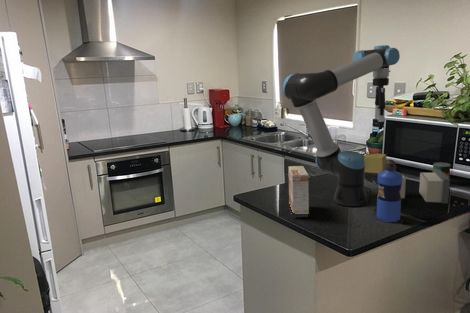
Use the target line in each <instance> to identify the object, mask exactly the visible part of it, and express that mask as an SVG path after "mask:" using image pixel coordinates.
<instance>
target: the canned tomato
mask: <svg viewBox="0 0 470 313" xmlns="http://www.w3.org/2000/svg"><path fill="white" fill-rule="evenodd" d="M434 170H440V171H441V172H443V173H444V174H445V175H446V176H447V177H448V178H449V179H450V177H451V164H450V163H448V162H440V161H439V162H434V163H433V164H432V173H434Z"/></svg>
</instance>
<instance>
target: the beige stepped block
mask: <svg viewBox="0 0 470 313" xmlns="http://www.w3.org/2000/svg"><path fill="white" fill-rule="evenodd" d="M419 173H420V174H419V190H418V192H419V194H420V195H421V196H422V198H423V200H424V201H425V202H426V203H441V204H449V198H450V185H451V183H450V182H451V179H450V178H448V177H447V176H446V175H445V174H444V173H443V172H441V171H440V170H434V173H433V172H419Z"/></svg>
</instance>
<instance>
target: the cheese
mask: <svg viewBox="0 0 470 313" xmlns="http://www.w3.org/2000/svg"><path fill="white" fill-rule="evenodd" d="M386 161H387V154H385V153H373V154H372V153H371V154H366V155H364V162H365V171H364V173H367V174H368V173H369V174H378V173H380V172H382V171H384V170H385V165H386V163H385V162H386Z"/></svg>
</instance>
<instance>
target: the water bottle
mask: <svg viewBox="0 0 470 313" xmlns="http://www.w3.org/2000/svg"><path fill="white" fill-rule="evenodd" d="M385 163H386V165H385V170H384V171H382V172H380V173H377V179H376V180H377V182H376V183H377V187H378V188H377V190H378V193H377V198H376V219H377V218H378V219H379V220H381V221H380V222H382V221H386V222H395V221H398V220H400V221H401V206H402V198H401V195H400V191H401V185H402V179H403V173H400V172H398V171H397V165H396V164H397V163H396V161H394V159H387V160H386V162H385ZM378 219H377V220H378ZM379 220H378V221H379ZM386 222H385V223H386Z"/></svg>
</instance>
